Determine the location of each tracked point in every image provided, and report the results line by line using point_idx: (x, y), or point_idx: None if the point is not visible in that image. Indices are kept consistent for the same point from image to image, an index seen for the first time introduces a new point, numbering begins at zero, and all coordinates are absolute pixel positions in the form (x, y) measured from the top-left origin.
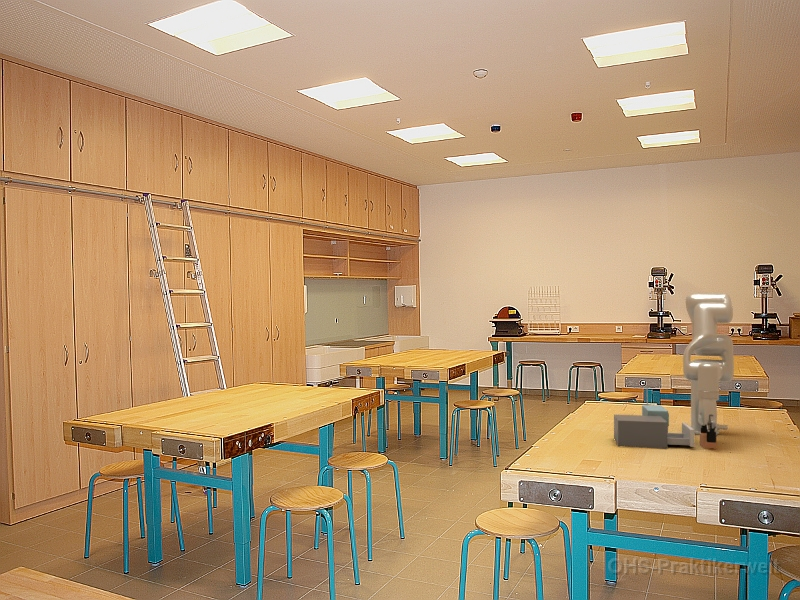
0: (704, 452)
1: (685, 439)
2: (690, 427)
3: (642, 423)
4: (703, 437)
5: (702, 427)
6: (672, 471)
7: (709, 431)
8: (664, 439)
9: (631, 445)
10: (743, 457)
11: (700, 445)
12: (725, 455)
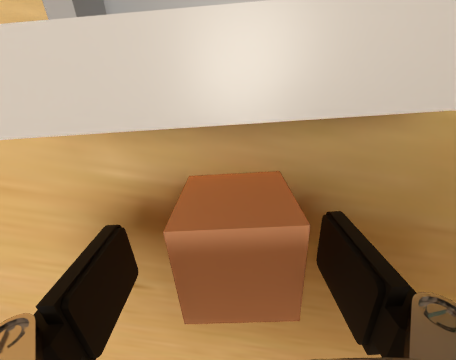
0: (42, 165)
1: (51, 12)
2: (88, 107)
3: None
4: (171, 224)
5: (413, 304)
6: None
7: (8, 332)
8: None
9: None
10: (34, 310)
11: (256, 174)
12: (28, 255)
